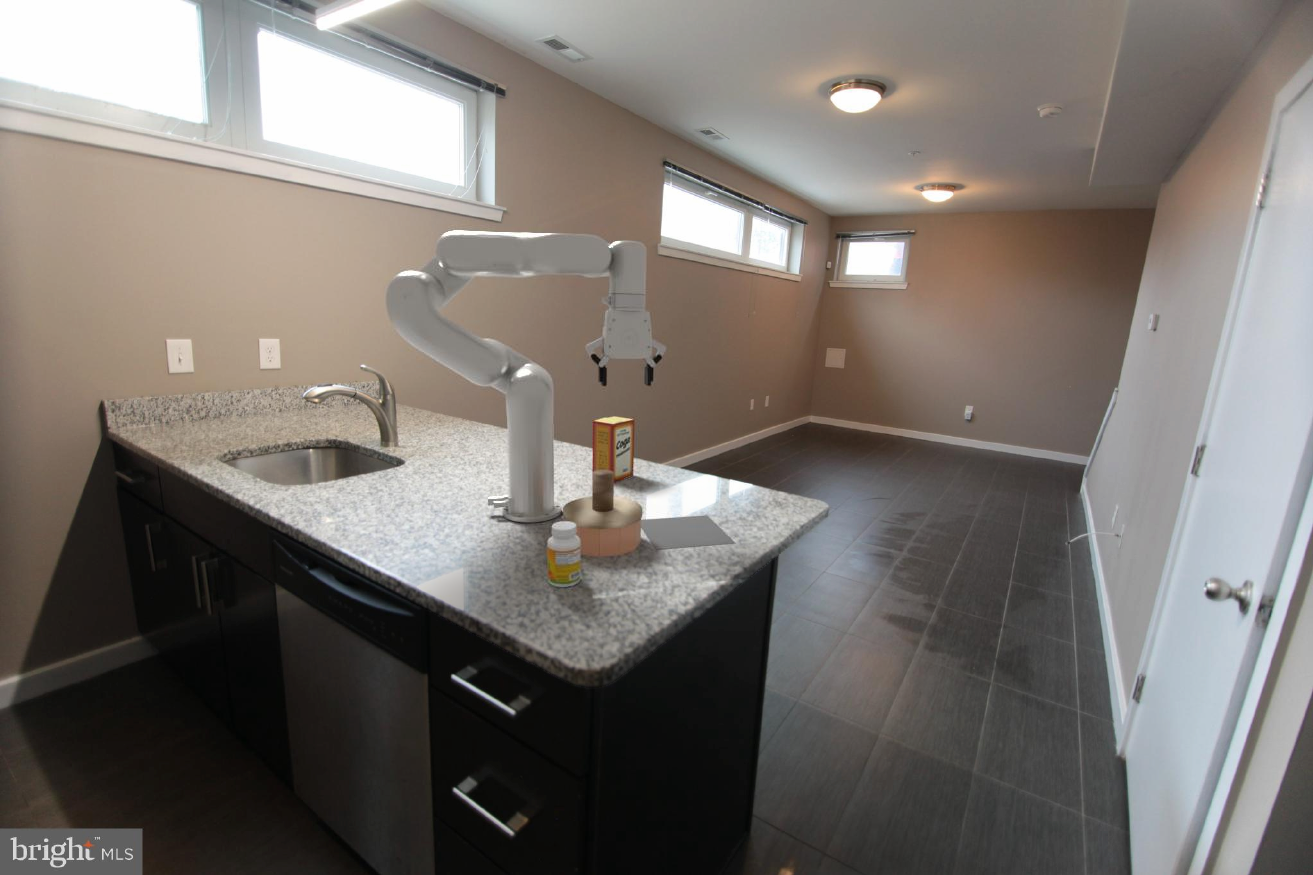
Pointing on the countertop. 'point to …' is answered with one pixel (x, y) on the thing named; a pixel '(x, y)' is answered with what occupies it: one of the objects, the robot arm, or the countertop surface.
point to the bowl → (609, 540)
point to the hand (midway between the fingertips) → (625, 385)
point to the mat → (684, 532)
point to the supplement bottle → (564, 555)
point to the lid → (602, 506)
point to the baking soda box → (614, 446)
